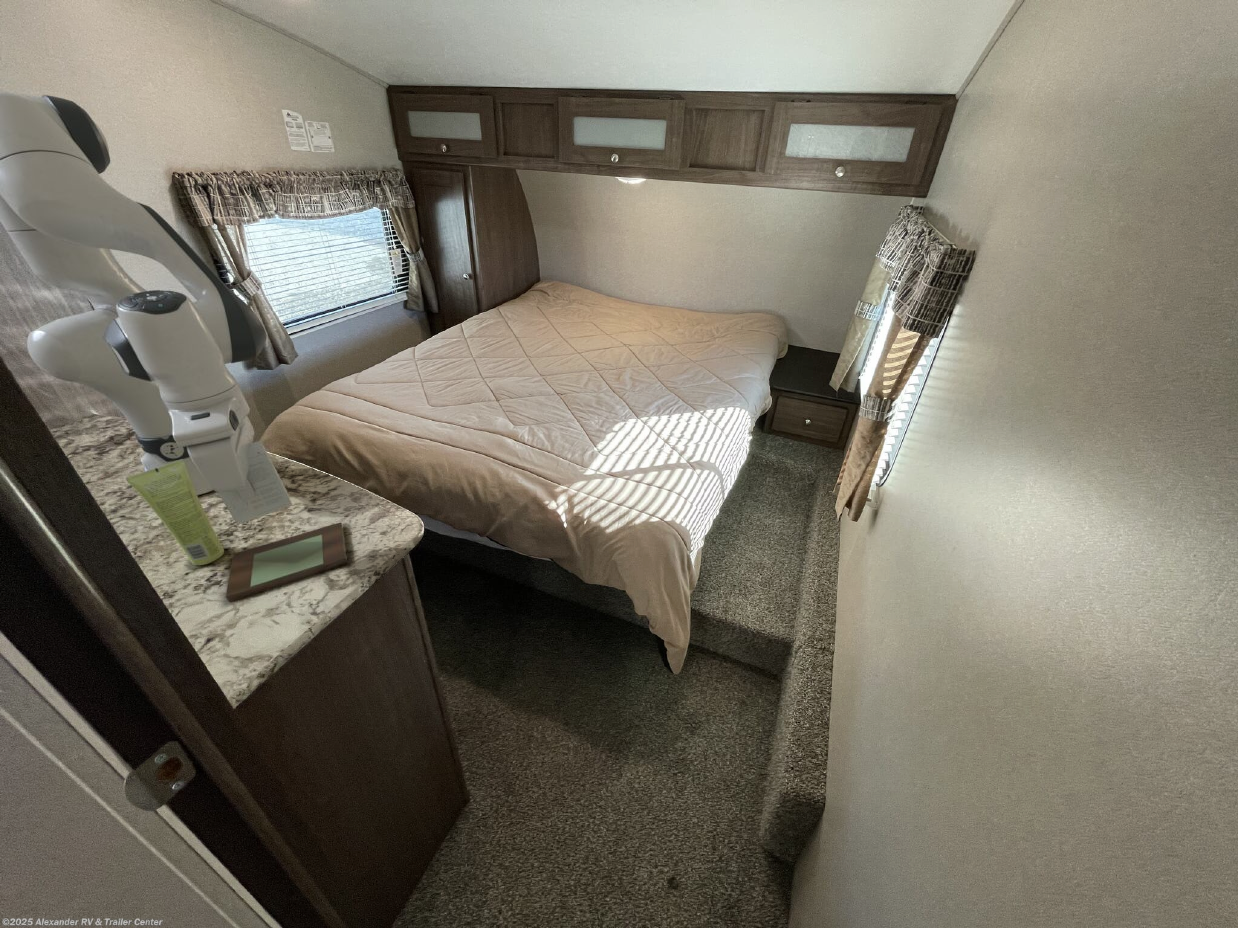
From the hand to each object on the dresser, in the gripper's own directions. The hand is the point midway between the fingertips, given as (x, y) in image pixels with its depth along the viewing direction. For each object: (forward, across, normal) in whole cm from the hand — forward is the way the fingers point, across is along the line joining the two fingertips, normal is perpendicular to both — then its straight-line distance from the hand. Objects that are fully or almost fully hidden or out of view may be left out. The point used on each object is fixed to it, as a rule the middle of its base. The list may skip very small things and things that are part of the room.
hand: (251, 485), depth 79 cm
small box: (+5, 0, 0) cm, 5 cm away
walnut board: (+17, -1, 0) cm, 17 cm away
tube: (+17, -10, -14) cm, 24 cm away
